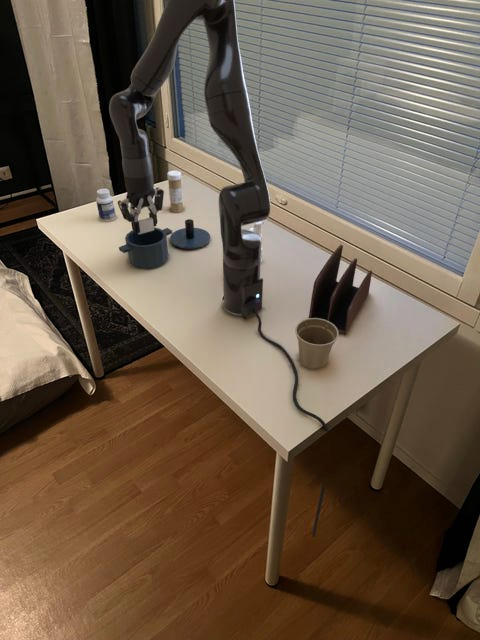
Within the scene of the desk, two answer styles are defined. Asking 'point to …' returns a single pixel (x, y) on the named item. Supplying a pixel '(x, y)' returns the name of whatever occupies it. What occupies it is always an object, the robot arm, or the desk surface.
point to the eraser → (146, 225)
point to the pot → (147, 248)
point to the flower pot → (315, 341)
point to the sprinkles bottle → (175, 191)
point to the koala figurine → (257, 230)
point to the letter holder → (338, 294)
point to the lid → (190, 236)
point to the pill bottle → (105, 205)
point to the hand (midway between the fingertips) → (145, 228)
